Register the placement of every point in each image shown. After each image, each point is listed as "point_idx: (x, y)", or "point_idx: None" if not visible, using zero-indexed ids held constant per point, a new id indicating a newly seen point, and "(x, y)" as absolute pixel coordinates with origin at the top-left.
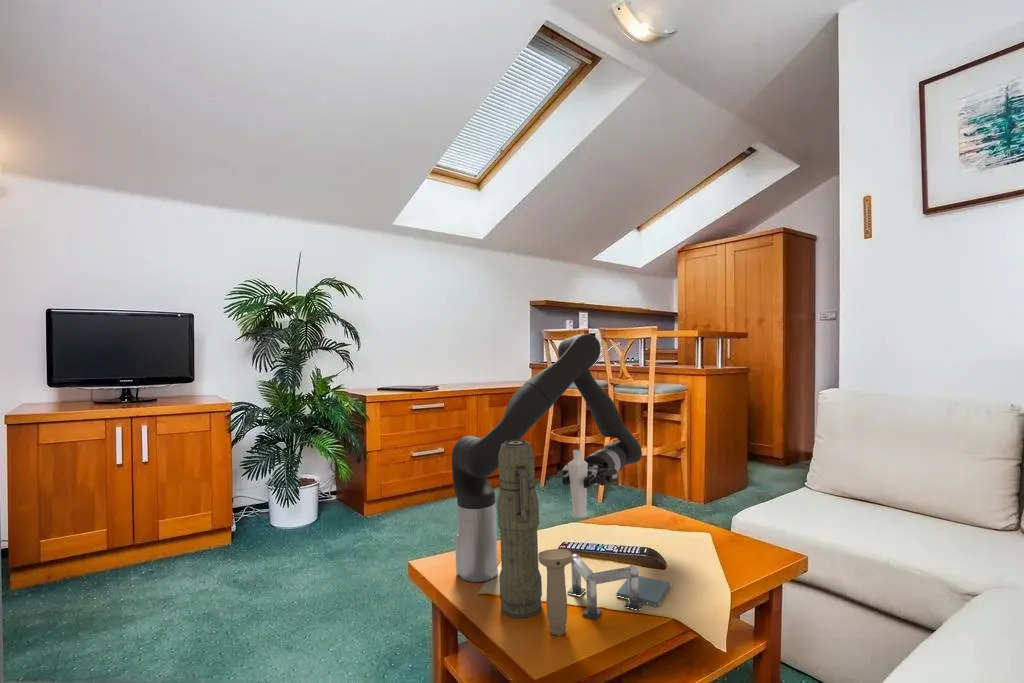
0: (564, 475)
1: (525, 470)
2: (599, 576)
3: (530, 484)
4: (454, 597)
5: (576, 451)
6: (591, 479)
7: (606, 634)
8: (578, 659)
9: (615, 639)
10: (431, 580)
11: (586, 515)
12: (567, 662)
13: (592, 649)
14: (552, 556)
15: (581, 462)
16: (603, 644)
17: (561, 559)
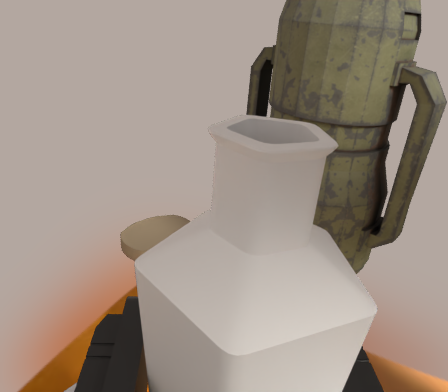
0: (370, 364)
1: (264, 50)
2: (70, 388)
3: (270, 115)
4: (416, 377)
5: (261, 119)
6: (93, 339)
7: (61, 388)
8: (103, 313)
9: (41, 380)
10: None
11: None
12: (118, 303)
13: (84, 339)
14: (160, 224)
15: (192, 225)
16: (65, 358)
17: (137, 222)
